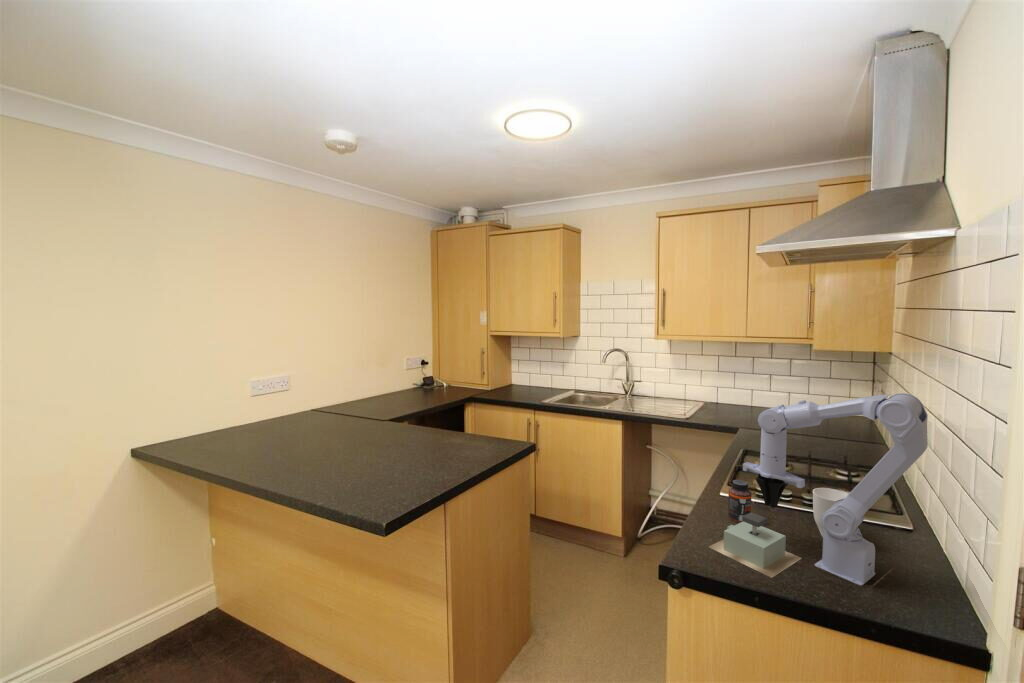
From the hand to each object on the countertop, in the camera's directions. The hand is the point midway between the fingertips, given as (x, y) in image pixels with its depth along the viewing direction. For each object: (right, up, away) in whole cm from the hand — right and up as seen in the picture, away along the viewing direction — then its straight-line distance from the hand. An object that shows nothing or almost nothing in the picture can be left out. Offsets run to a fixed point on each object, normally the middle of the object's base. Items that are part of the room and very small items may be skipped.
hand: (771, 505), depth 116 cm
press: (-6, -10, -4) cm, 13 cm away
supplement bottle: (-1, -10, +14) cm, 17 cm away
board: (-6, -11, -4) cm, 13 cm away
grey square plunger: (-6, -7, -4) cm, 10 cm away
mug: (+19, -10, +5) cm, 22 cm away
